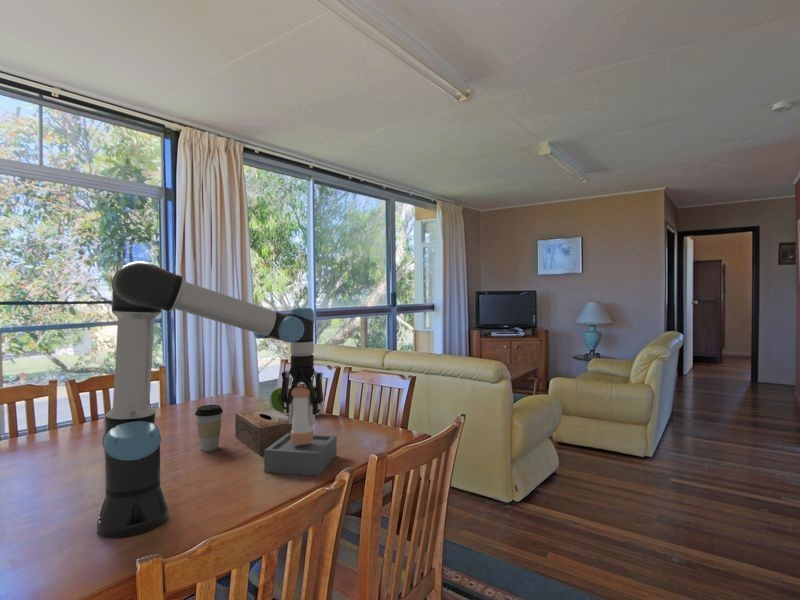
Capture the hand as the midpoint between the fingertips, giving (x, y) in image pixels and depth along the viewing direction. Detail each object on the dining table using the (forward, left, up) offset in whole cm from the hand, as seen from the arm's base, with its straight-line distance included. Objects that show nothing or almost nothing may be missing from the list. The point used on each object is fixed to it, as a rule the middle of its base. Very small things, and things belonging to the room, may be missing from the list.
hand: (302, 423), depth 150 cm
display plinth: (0, 0, -13) cm, 13 cm away
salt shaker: (0, 0, -6) cm, 6 cm away
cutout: (+57, +25, -14) cm, 63 cm away
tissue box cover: (+18, +22, -14) cm, 32 cm away
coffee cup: (+8, +39, -14) cm, 42 cm away
